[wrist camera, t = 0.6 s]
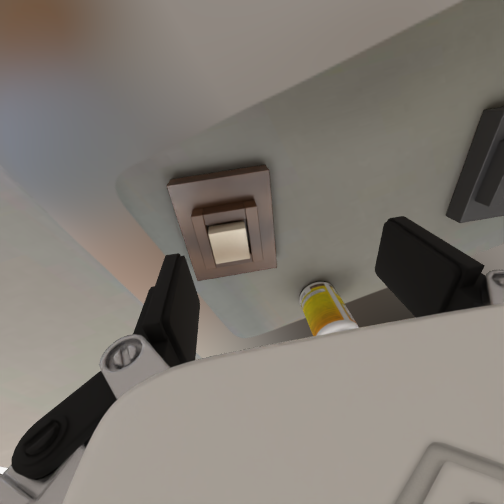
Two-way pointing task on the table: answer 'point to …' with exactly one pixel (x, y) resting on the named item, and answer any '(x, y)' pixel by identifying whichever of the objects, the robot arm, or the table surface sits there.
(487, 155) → the stepped wall plate
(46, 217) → the table surface
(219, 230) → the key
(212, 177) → the brown stepped switch base
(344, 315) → the supplement bottle
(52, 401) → the table surface
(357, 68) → the table surface
